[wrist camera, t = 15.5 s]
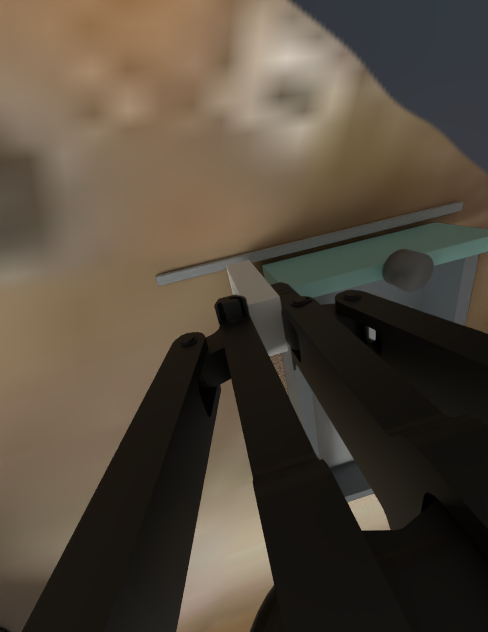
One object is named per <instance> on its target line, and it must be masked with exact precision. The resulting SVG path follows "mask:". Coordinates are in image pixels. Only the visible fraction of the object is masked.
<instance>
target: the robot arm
mask: <svg viewBox="0 0 488 632" xmlns="http://www.w3.org/2000/svg"><path fill="white" fill-rule="evenodd" d="M226 268H227V272H228V276H229V281H230V285H231V289H232V293H233V295H232V296H228V297H224V298H220V299H218V300H217V302H216V303H215V306H214V307H215V310H216V314H217V317H218V321H219V325H220V327H219V329H218V330H217V331H216V332H215V333H214V334H212V335H210V336H208V337H206V338H205V335H204V334H202V333H199V332H192V333H187V334H184V335H182V336H180V337H179V338H178V339H176V340H175V341H174V342H173V344H172V346H171V347H170V349H169V351H168V353H167V355H166V357H165V359H164V361H163V363H162V365H161V367H160V368H159V370H158V372H157V374H156V376H155V378H154V380H153V382H152V384H151V386H150V388H149V390H148V391H147V393H146V395H145V397H144V399H143V401H142V403H141V405H140V407H139V409H138V411H137V412H136V414H135V416H134V418H133V420H132V422H131V424H130V426H129V428H128V430H127V432H126V434H125V435H124V437H123V439H122V441H121V443H120V445H119V447H118V449H117V451H116V453H115V455H114V457H113V458H112V460H111V462H110V464H109V466H108V468H107V470H106V472H105V474H104V476H103V478H102V479H101V481H100V483H99V485H98V487H97V489H96V491H95V493H94V495H93V497H92V499H91V501H90V502H89V504H88V506H87V508H86V510H85V512H84V514H83V516H82V518H81V520H80V522H79V523H78V525H77V527H76V529H75V531H74V533H73V535H72V537H71V539H70V541H69V543H68V545H67V546H66V548H65V550H64V552H63V554H62V556H61V558H60V560H59V562H58V564H57V566H56V567H55V569H54V571H53V573H52V575H51V577H50V579H49V581H48V583H47V585H46V587H45V589H44V590H43V592H42V594H41V596H40V598H39V600H38V602H37V604H36V606H35V608H34V610H33V611H32V613H31V615H30V617H29V619H28V621H27V623H26V625H25V627H24V629H23V631H22V632H176V630H177V625H178V619H179V614H180V609H181V603H182V598H183V592H184V587H185V582H186V576H187V571H188V565H189V560H190V555H191V549H192V544H193V538H194V533H195V528H196V522H197V517H198V511H199V506H200V501H201V495H202V490H203V484H204V479H205V474H206V468H207V463H208V457H209V452H210V447H211V441H212V436H213V430H214V425H215V420H216V414H217V409H218V403H219V398H220V392H221V386H220V384H222V383H224V382H226V381H227V380H229V379H232V384H233V389H234V393H235V398H236V402H237V407H238V411H239V416H240V420H241V425H242V430H243V434H244V439H245V443H246V448H247V452H248V457H249V461H250V466H251V471H252V475H253V486H254V491H255V496H256V501H257V506H258V510H259V515H260V520H261V524H262V529H263V534H264V538H265V543H266V548H267V552H268V557H269V562H270V566H271V571H272V576H273V580H274V586H273V587H272V589H271V590H270V591H269V593H268V594H267V596H266V597H265V599H264V601H263V603H262V605H261V607H260V608H259V610H258V612H257V615H256V617H255V620H254V622H253V624H252V627H251V629H250V632H488V334H486V333H484V332H481V331H478V330H475V329H472V328H469V327H466V326H463V325H460V324H457V323H454V322H451V321H449V320H446V319H443V318H440V317H437V316H434V315H431V314H428V313H425V312H422V311H419V310H417V309H414V308H411V307H408V306H405V305H402V304H399V303H396V302H393V301H390V300H387V299H385V298H382V297H379V296H376V295H373V294H370V293H367V292H364V291H360V290H345V291H343V292H340V293H338V294H336V296H335V303H333V304H322V305H320V304H319V303H318V302H317V301H316V300H315V299H313V298H312V297H309V296H300V295H299V294H298V293H297V292H296V291H295V290H294V289H293V288H292V287H291V286H290V285H289V284H286V283H283V282H279V283H275V284H272V285H270V284H269V283H268V282H267V281H266V280H265V278H264V277H263V276H262V275H261V274H260V272H259V271H258V270H257V269H256V268H255V266H254V265H253V264H252V263H251V262H250V261H249V260H246V261H242V262H238V263H234V264H230V265H226ZM369 327H370V328H372V329H374V330H375V331H376V338H375V340H372V339H370V338H369ZM287 342H288V344H289V345H290V349H291V356H292V363H293V369H294V370H296V365H297V366H298V368H299V369H300V371H301V373H302V374H303V376H304V378H305V379H306V381H307V383H308V384H309V386H310V388H311V389H312V391H313V393H314V394H315V396H316V398H317V399H318V401H319V403H320V404H321V406H322V408H323V409H324V411H325V413H326V414H327V416H328V417H329V419H330V421H331V422H332V424H333V426H334V427H335V429H336V431H337V432H338V434H339V436H340V437H341V439H342V441H343V442H344V444H345V446H346V447H347V449H348V451H349V452H350V454H351V456H352V457H353V459H354V461H355V462H356V464H357V466H358V467H359V469H360V471H361V472H362V474H363V476H364V477H365V479H366V480H367V482H368V484H369V485H370V487H371V489H372V490H373V492H374V494H375V495H376V497H377V499H378V500H379V502H380V504H381V506H382V508H383V509H384V512H385V514H386V517H387V520H388V523H389V526H390V529H391V530H373V531H361V529H360V527H359V525H358V523H357V521H356V519H355V517H354V515H353V513H352V511H351V509H350V507H349V505H348V503H347V501H346V499H345V497H344V495H343V493H342V491H341V489H340V487H339V485H338V483H337V481H336V479H335V477H334V475H333V473H332V471H331V470H330V468H329V466H328V464H327V463H326V462H325V461H324V459H319V458H318V457H317V455H316V453H315V451H314V449H313V447H312V445H311V443H310V441H309V439H308V437H307V435H306V432H305V430H304V428H303V426H302V424H301V422H300V420H299V418H298V416H297V414H296V412H295V409H294V407H293V405H292V403H291V401H290V399H289V397H288V395H287V393H286V391H285V388H284V386H283V384H282V382H281V380H280V378H279V376H278V374H277V372H276V370H275V368H274V365H273V363H272V361H271V359H270V357H269V356H272V355H276V354H280V353H283V352H287V351H288V347H287ZM0 632H5V631H3V630H1V629H0Z"/></svg>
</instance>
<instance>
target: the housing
mask: <svg viewBox="0 0 488 632" xmlns="http://www.w3.org/2000/svg"><path fill="white" fill-rule="evenodd" d="M463 203H464V202H459V201H457V202H453V203H449V204H445V205H441V206H437V207H433V208H429V209H425V210H421V211H416V212H412V213H408V214H404V215H400V216H396V217H392V218H388V219H384V220H380V221H376V222H372V223H367V224H363V225H359V226H355V227H351V228H347V229H343V230H339V231H335V232H331V233H327V234H323V235H318V236H314V237H310V238H306V239H302V240H298V241H294V242H290V243H286V244H282V245H278V246H274V247H269V248H265V249H261V250H257V251H253V252H249V253H245V254H241V255H237V256H233V257H229V258H225V259H220V260H216V261H212V262H208V263H204V264H200V265H196V266H192V267H188V268H184V269H180V270H176V271H172V272H167V273H163V274H159V275H156V277H155V279H156V281H157V284H158V286H161V285H165V284H169V283H173V282H177V281H181V280H185V279H189V278H193V277H197V276H201V275H205V274H209V273H213V272H217V271H221V270H225V269H227V268H226V265H230V264H234V263H238V262H242V261H246V260H249V261H250V262H251V263H253V262H257V261H261V260H265V259H269V258H273V257H277V256H281V255H285V254H290V253H294V252H298V251H302V250H306V249H310V248H314V247H318V246H322V245H326V244H330V243H334V242H338V241H342V240H346V239H350V238H354V237H358V236H362V235H366V234H370V233H374V232H378V231H382V230H386V229H390V228H394V227H398V226H402V225H406V224H410V223H414V222H418V221H423V220H427V219H431V218H435V217H439V216H443V215H447V214H451V213H455V212H459V211H462V209H463ZM478 257H479V254H477V255H473V256H469V257H466V258H462V259H458V260H454V261H450V262H447V263H443V264H439V265H435V266H434V269H433V273H432V276H431V278H430V279H429V281H428V282H427V283H426V284H425V285H424V286H423V287H422V288H420V289H419V290H416V291H413V292H406V291H403V290H401V289H399V288H397V287H395V286H393V285H390V284H388V283H387V282H386V281H385V280H384V279H382V280H378V281H374V282H371V283H367V284H363V285H359V286H355V287H351V288H348V289H344V290H340V291H336V292H332V293H329V294H325V295H321V296H317V297H313V299H315V300H316V301H317V302H318V303H319V304H320V305H322V304H333V303H335V296H336V294H338V293H340V292H343V291H345V290H360V291H364V292H367V293H370V294H373V295H376V296H379V297H382V298H385V299H387V300H390V301H393V302H396V303H399V304H402V305H405V306H408V307H411V308H414V309H417V310H419V311H422V312H425V313H428V314H431V315H434V316H437V317H440V318H443V319H446V320H449V321H451V322H454V323H457V324H460V325H463V326H465V323H466V318H467V313H468V308H469V303H470V298H471V293H472V288H473V283H474V278H475V272H476V267H477V262H478ZM369 338H370V339H372V340H375V338H376V331H375V330H374V329H372V328H370V327H369ZM287 347H288V351H287V352H283V353H282V357H283V363H284V369H285V375H286V381H287V387H288V394H289V399H290V401H291V403H292V405H293V407H294V409H295V412H296V414H297V416H298V418H299V420H300V422H301V424H302V426H303V428H304V430H305V432H306V435H307V437H308V439H309V441H310V443H311V445H312V447H313V449H314V451H315V453H316V455H317V457H318V458H319V459H324V461H325V462H326V463H327V464H328V466H329V468H330V470H331V471H332V473H333V475H334V477H335V479H336V481H337V483H338V485H339V487H340V489H341V491H342V493H343V495H344V497H345V499H346V501H347V502H349V501H353V500H356V499H359V498H362V497H365V496H368V495H371V494H374V492H373V490H372V489H371V487H370V485H369V484H368V482H367V480H366V479H365V477H364V476H363V474H362V472H361V471H360V469H359V467H358V466H357V464H356V462H355V461H354V459H353V457H352V456H351V454H350V452H349V451H348V449H347V447H346V446H345V444H344V442H343V441H342V439H341V437H340V436H339V434H338V432H337V431H336V429H335V427H334V426H333V424H332V422H331V421H330V419H329V417H328V416H327V414H326V413H325V411H324V409H323V408H322V406H321V404H320V403H319V401H318V399H317V398H316V396H315V394H314V393H313V391H312V389H311V388H310V386H309V384H308V383H307V381H306V379H305V378H304V376H303V374H302V373H301V371H300V369H299V368H298V366H297V365H296V370H294V369H293V363H292V356H291V349H290V345H289V344H288V342H287Z"/></svg>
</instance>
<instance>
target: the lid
mask: <svg viewBox="0 0 488 632" xmlns="http://www.w3.org/2000/svg"><path fill="white" fill-rule="evenodd" d="M485 252H488V229H483V228H475V227H467V226H460V225H452V224H444V223H436V222H434V223H430V224H426V225H422V226H418V227H414V228H410V229H406V230H402V231H398V232H394V233H390V234H386V235H382V236H378V237H374V238H370V239H366V240H362V241H358V242H354V243H350V244H346V245H342V246H338V247H334V248H330V249H326V250H322V251H317V252H313V253H309V254H305V255H301V256H297V257H293V258H289V259H285V260H281V261H277V262H273V263H269V264H265V265H262V268H263V274H264V278H265V279H266V280H267V282H268V283H269V284H270V285H272V284H275V283H279V282H283V283H286V284H289V285H290V286H291V287H292V288H293V289H294V290H295V291H296V292H297V293H298V294H299V295H300V296H309V297H312V298H313V297H317V296H321V295H325V294H329V293H332V292H336V291H340V290H344V289H348V288H351V287H355V286H359V285H363V284H367V283H371V282H374V281H378V280H382V279H384V280H385V281H386V282H387V283H388V284H390V285H393V286H395V287H397V288H399V289H401V290H403V291H406V292H413V291H416V290H419V289H420V288H422V287H423V286H424V285H425V284H426V283H427V282H428V281H429V279H430V278H431V276H432V273H433V269H434V266H435V265H439V264H443V263H447V262H450V261H454V260H458V259H462V258H466V257H469V256H473V255H477V254H481V253H485Z"/></svg>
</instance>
